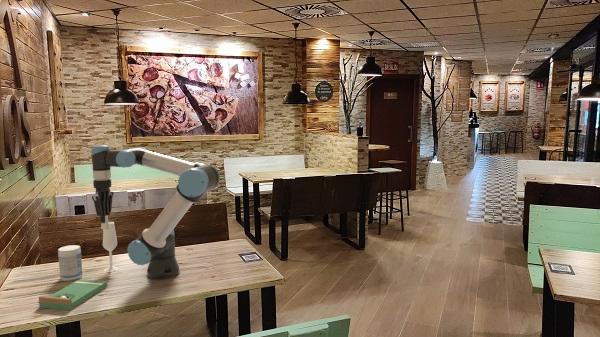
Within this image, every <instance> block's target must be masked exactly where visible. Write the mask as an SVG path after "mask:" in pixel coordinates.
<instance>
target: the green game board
mask: <svg viewBox="0 0 600 337" xmlns="http://www.w3.org/2000/svg"><path fill="white" fill-rule="evenodd" d="M107 287H108V281H103V280H91V279H90V280H89V279H80V278H78V279H76V281H73V282H72V283H70V284H69V285H67V286H64V287H63V288H62V289H60V290H58V291H55V292H54V293H52V294H50V295H48V296H46V295H39V296H38V307H39V308H40V309H41V308H42V309H51V310H52V309H53V310H63V311H71V310H73V309H74V308H76V307H78V306H79V305H81V304H82V303H84V302H85V301H87V300H89V299H91V298H92V297H93V296H95V295H96V294H99V293H100V292H101V291H103V290H104V289H106V288H107ZM62 296H66V297H67V298H60V297H62Z"/></svg>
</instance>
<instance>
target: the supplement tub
mask: <svg viewBox="0 0 600 337" xmlns="http://www.w3.org/2000/svg"><path fill="white" fill-rule="evenodd" d="M57 251H58V252H57V255H58V256H57V257H58V267H59V278H60V280H61V281H64V282H69V281H75V280H79V279H80V278H82V276H83V265H82V264H83V263H82V249H81V246H80V245H78V244H77V245H75V244H74V245H73V244H72V245H71V244H70V245H65V246H61V247H60V248H58V249H57Z"/></svg>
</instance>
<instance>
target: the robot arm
mask: <svg viewBox="0 0 600 337" xmlns="http://www.w3.org/2000/svg"><path fill="white" fill-rule="evenodd" d="M90 155H91V164H92V178H93V179H94V180H93V181H92V183H93V188H94V189H95V191H94V192H95V194H94V195H92V196H91V199H92V201H93V203H94V208H95V213H96V216H98V217H100V226H101V227H100V228H101V230H102V231H103V230H107V229H109V226H108V222H109V216H110V215H111V213H112V207H113V197H114V191H111V187H112V179H111V178H112V173H111V171H112V170H111V168H113V167H114V168H123V169H124V168H131V167H133V165H139V166H142V167H146V168H150V169H154V170H157V171H160V172H164V173H167V174H172V175H175V176H178V179H177V183H178V184H177V185H176V186H175V191H176V192H175V194H174V195H173V196H172V197H171V198H170V200H169V201H168V203H167V204H166V205H165V207H164V208H163V210H162V211H161V212H160V213H159V215H158V216H157V218H156V219H155V220H154V221H153V223H152V224H151V226H150V227H149V228H145V229H143V230H142V231H141V233H140V235H139V236H138V237H137V238H136V239H134V240H133V241H131V242H130V243H129V244H128V246H127V254H128V258H130V261H132V263H133V264H135V265H137V266H144V265H146V264H148V267H147V268H146V269H147V270H146V275H147V277H148V278H150V279H157V280H162V279H169V278H172V277H175V276H177V275H179V274H180V266H179V263H178V260H177V257H176V243H175V242H176V241H175V240H176V238H175V236H176V235H175V230H174V229H175V227H176V226H177V225H178V224H179V222H180V221H181V219H182V218H183V217H184V216H185V214H186V213H187V212H188V211H189V209H191V207H192V205H193V204H197V203H199V202H200V201H201V199H202V198H203V197H204V195H205V194H206V193H207V192H210V191H212V190H214V189H215V188H216V187H218V185H219V183H220V179H221V177H220V175H221V174H220V172H219V171H218V169H217V168H216V167H215V166H214V165H211V164H208V163H204V162H203V163H202V162H199V161H197V162H190V161H186V160H183V159H180V158H176V157H171V156H168V155H166V154H165V155H164V154H161V153H157V152H153V151H150V150H149V149H147V148H146V147H133V148H127V149H121V150H119V149H117V150H115V149H110V146H109V145H107V144H106V145H104V144H102V145H101V144H100V145H93V146H92V147H91V154H90Z"/></svg>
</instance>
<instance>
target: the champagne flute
mask: <svg viewBox="0 0 600 337" xmlns="http://www.w3.org/2000/svg"><path fill="white" fill-rule="evenodd" d="M108 226H109V229H107V230H103V229H102V231H103V232H102V233H103V234H102V247H103V248H104V249H105V250H106V251H108V253H109V256H108V257H109V266H108V267H107V268H105V269H104V272H105V273H113V272H117V271H118V270H120V268H119V267H116V266H114V265H113V250H115V249H116V247H117V246H118V239H117V233H116V226H115V222H114V221H108Z"/></svg>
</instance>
